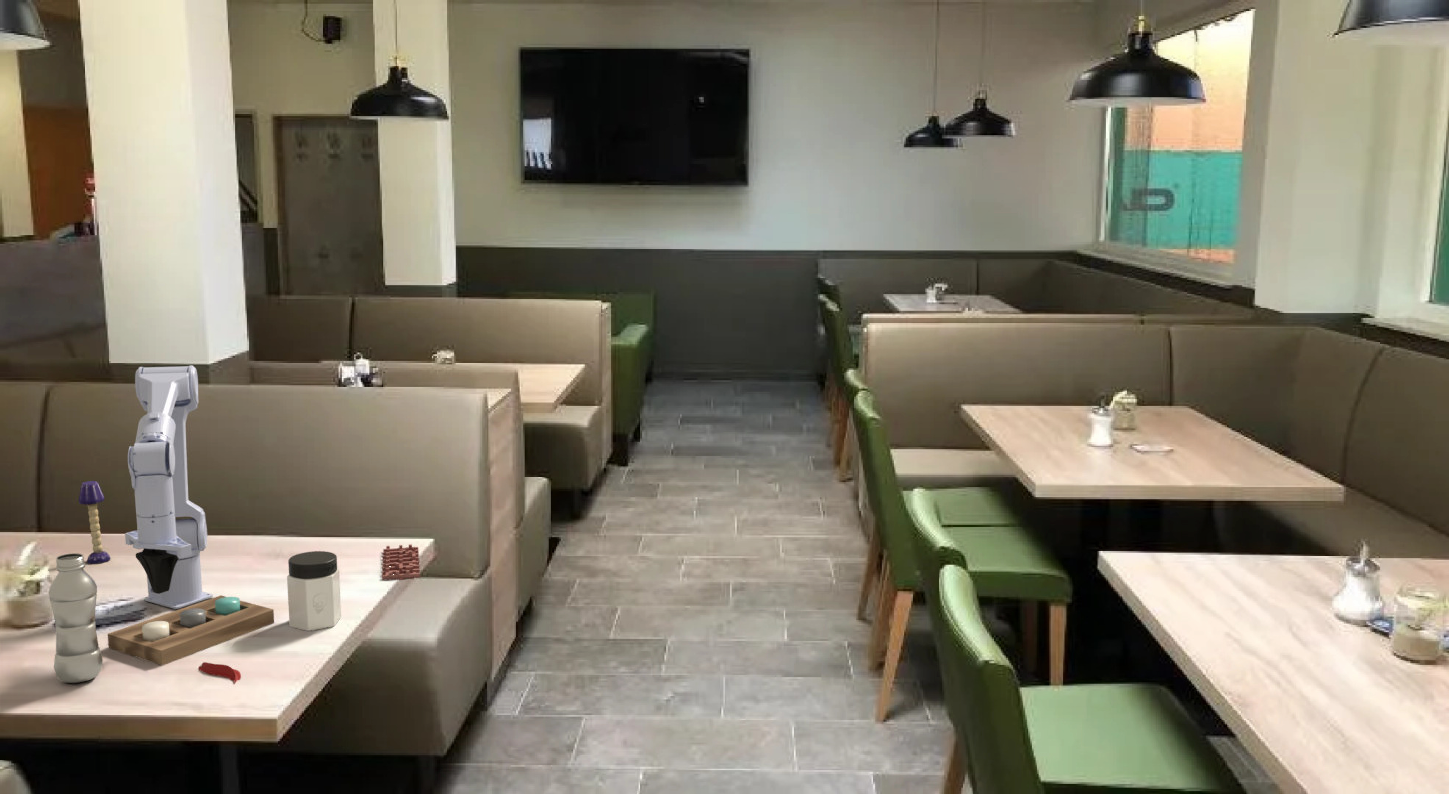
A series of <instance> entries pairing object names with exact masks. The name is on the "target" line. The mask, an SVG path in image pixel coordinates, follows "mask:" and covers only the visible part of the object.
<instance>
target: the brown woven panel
mask: <svg viewBox="0 0 1449 794" xmlns="http://www.w3.org/2000/svg"><path fill="white" fill-rule="evenodd" d="M382 551H383V552H382V571H381V572H382V575H381V580H382V581H390V580H389V579H391V580H399V581H402V580H404V579H405V580H406V579H417V578H421V573H420V553H419V546H413V544H412V543H411V544H408V547H406V546H405V547H403V544H399V545H398V547H396V548H391V547H390V545H386V548H383V550H382ZM389 566H391V567H389ZM393 574H394V575H393Z"/></svg>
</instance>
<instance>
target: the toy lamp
mask: <svg viewBox="0 0 1449 794" xmlns="http://www.w3.org/2000/svg"><path fill="white" fill-rule="evenodd" d="M78 495H79V496H78V503H79V505H87V509H88V512H87V513H88V516H89V519H88V521H89V524H90V525H89V528H90V531H91V532H90V537H91V538H92V539H91V544H92V552H91V553H90V554H89V555H88V557H87V559H86V562H87V563H88V564H92V565H96V564H97V565H98V564H104V563H107V562H109V561H110V560H111V556H110V554H109V553H108V552H106V551H104V550H103V548H104V547H103V545H102V538H101V536H102V534H101V526H100V523H99V521H100V517H99V510H98V504H99V503H102V502H103V501H105V496H104V493H103V492H102V488H101V486H100V485H99V482H98V481H95V480H90V481H84V482H82V483H81V485H80V490H79V494H78Z"/></svg>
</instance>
